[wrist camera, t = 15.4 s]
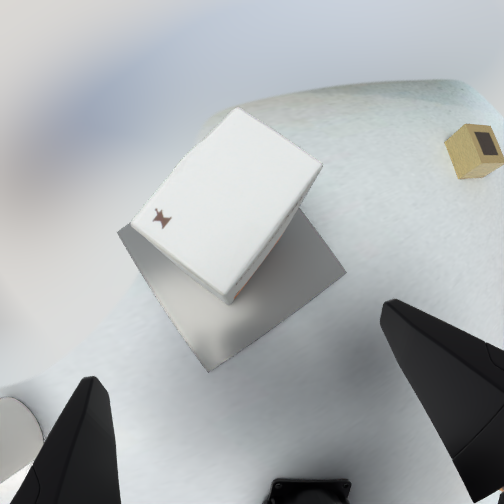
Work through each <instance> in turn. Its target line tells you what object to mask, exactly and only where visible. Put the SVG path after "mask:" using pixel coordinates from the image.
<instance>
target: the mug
mask: <svg viewBox="0 0 504 504" xmlns="http://www.w3.org/2000/svg"><path fill="white" fill-rule="evenodd" d="M42 446H43V436H42V432H41V429H40V426H39V424H38V422H37V420H36V419H35V417H34V415H33V414H32V413H31V411H30V410H29V409H28V408H27V407H26V406H25V405H24V404H23V403H21V402H20V401H18V400H17V399H14V398H11V397H3V398H0V484H1V483H2V482H4V481H5V480H6V479H8V478H9V477H11V476H12V475H14V474H15V473H16V472H18V471H19V470H21V469H22V468H24V467H25V466H27V465H28V464H29V463H31V462H32V461H33V460H34V459H36V457H37V455H38V453H39V451H40V450H41V448H42Z"/></svg>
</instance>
